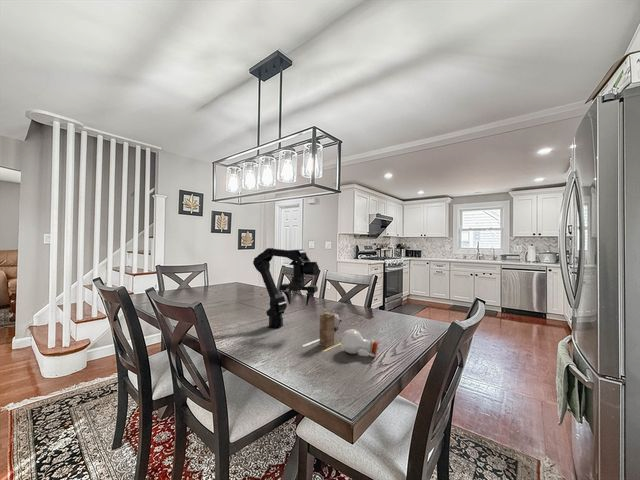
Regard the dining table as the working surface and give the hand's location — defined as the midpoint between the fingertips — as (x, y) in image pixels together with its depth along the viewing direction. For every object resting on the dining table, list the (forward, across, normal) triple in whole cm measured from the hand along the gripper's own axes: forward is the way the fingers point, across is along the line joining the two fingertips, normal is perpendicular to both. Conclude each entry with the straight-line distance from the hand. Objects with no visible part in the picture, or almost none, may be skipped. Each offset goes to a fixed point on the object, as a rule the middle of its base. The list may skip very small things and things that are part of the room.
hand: (298, 305), depth 136 cm
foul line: (+13, +13, -10) cm, 21 cm away
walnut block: (+13, +18, -12) cm, 26 cm away
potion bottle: (+13, +33, -18) cm, 40 cm away
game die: (+13, +16, +10) cm, 23 cm away
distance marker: (+13, +22, -14) cm, 29 cm away
